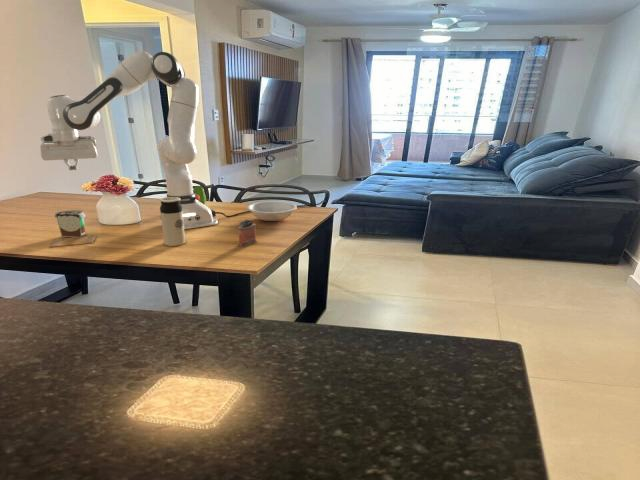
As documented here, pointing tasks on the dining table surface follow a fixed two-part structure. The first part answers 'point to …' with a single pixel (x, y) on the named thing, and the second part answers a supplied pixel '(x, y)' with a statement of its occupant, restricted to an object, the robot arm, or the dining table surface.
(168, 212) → the travel mug
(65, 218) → the food container
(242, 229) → the red tin
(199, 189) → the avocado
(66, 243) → the cork pad
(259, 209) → the soup bowl
